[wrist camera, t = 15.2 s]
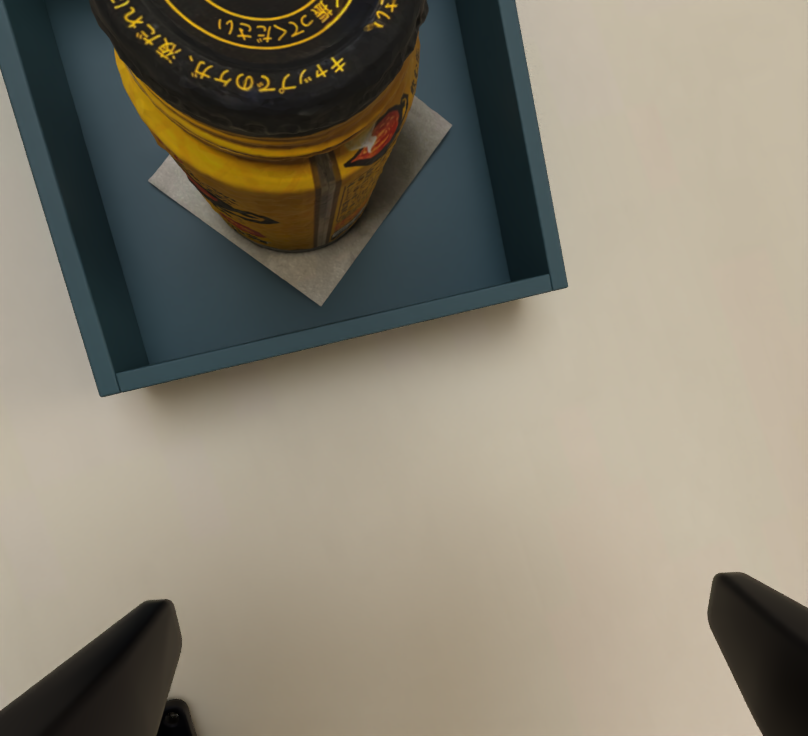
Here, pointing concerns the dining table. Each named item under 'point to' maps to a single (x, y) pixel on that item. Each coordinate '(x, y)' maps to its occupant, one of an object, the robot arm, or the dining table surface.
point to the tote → (230, 265)
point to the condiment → (280, 119)
